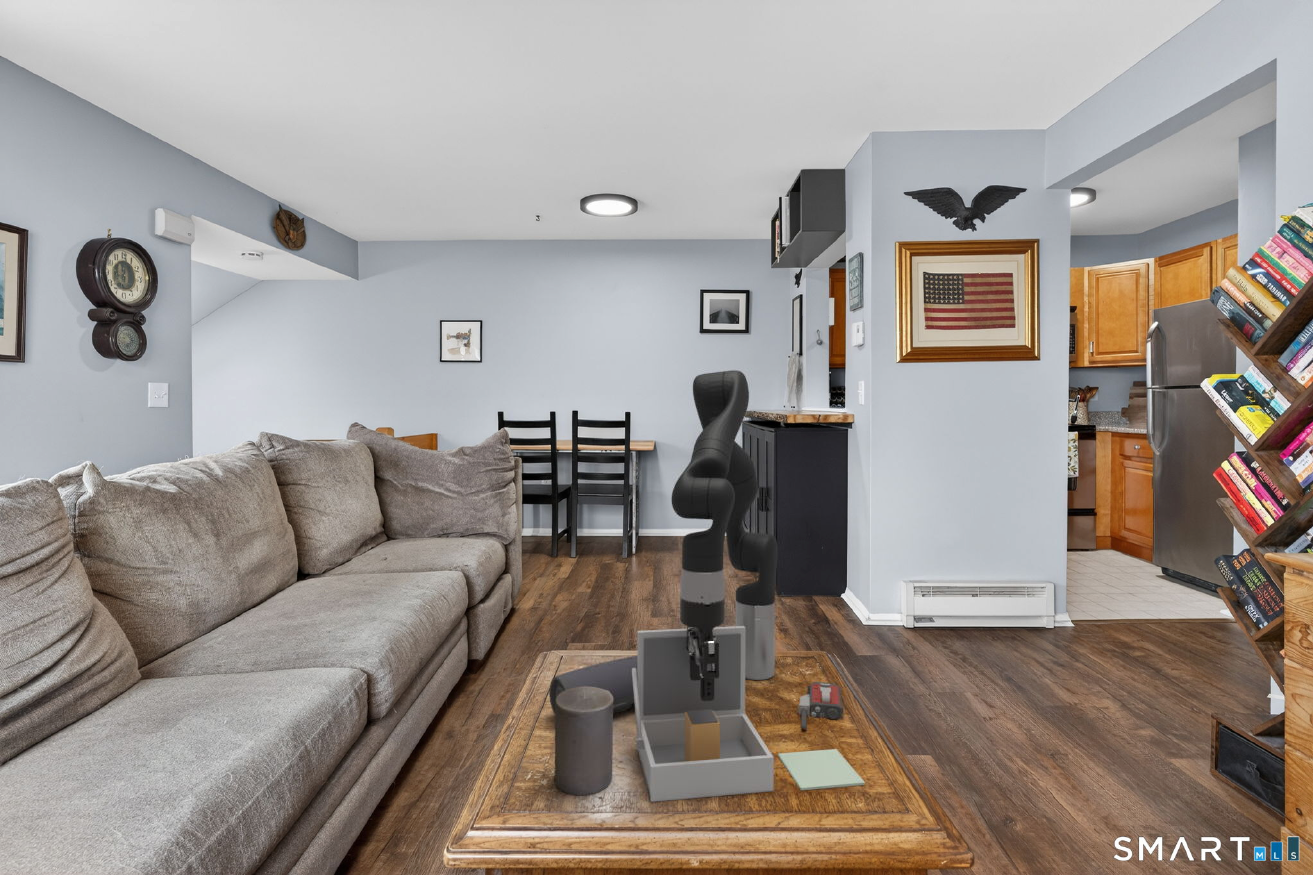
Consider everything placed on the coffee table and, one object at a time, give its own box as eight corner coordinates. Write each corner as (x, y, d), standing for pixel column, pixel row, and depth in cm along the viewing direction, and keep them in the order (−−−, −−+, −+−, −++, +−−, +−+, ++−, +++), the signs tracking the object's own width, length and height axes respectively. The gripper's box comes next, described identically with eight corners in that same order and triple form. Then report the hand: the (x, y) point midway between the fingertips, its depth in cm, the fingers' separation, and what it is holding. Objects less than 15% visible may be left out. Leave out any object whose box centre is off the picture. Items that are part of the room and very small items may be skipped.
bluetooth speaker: (642, 690, 144) (642, 645, 144) (666, 705, 136) (666, 658, 136) (547, 716, 131) (547, 667, 131) (568, 734, 123) (568, 682, 123)
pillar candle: (542, 779, 108) (542, 690, 107) (586, 757, 115) (587, 673, 114) (580, 803, 101) (581, 709, 101) (625, 778, 108) (626, 690, 108)
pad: (778, 755, 116) (778, 753, 116) (836, 751, 117) (836, 748, 117) (801, 790, 105) (801, 787, 105) (865, 784, 107) (865, 782, 107)
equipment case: (630, 746, 119) (630, 630, 118) (742, 738, 122) (743, 624, 122) (643, 802, 101) (643, 666, 101) (773, 790, 105) (774, 658, 104)
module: (684, 757, 113) (684, 710, 113) (712, 755, 114) (712, 708, 114) (690, 772, 108) (690, 723, 108) (719, 770, 109) (719, 721, 109)
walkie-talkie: (799, 692, 144) (797, 734, 125) (799, 672, 144) (798, 711, 125) (840, 696, 142) (845, 739, 123) (840, 676, 142) (845, 716, 123)
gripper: (673, 585, 117) (672, 674, 117) (689, 607, 103) (688, 708, 103) (713, 584, 118) (712, 672, 118) (735, 605, 104) (734, 706, 104)
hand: (701, 689), depth 111 cm, fingers open, 8 cm apart
